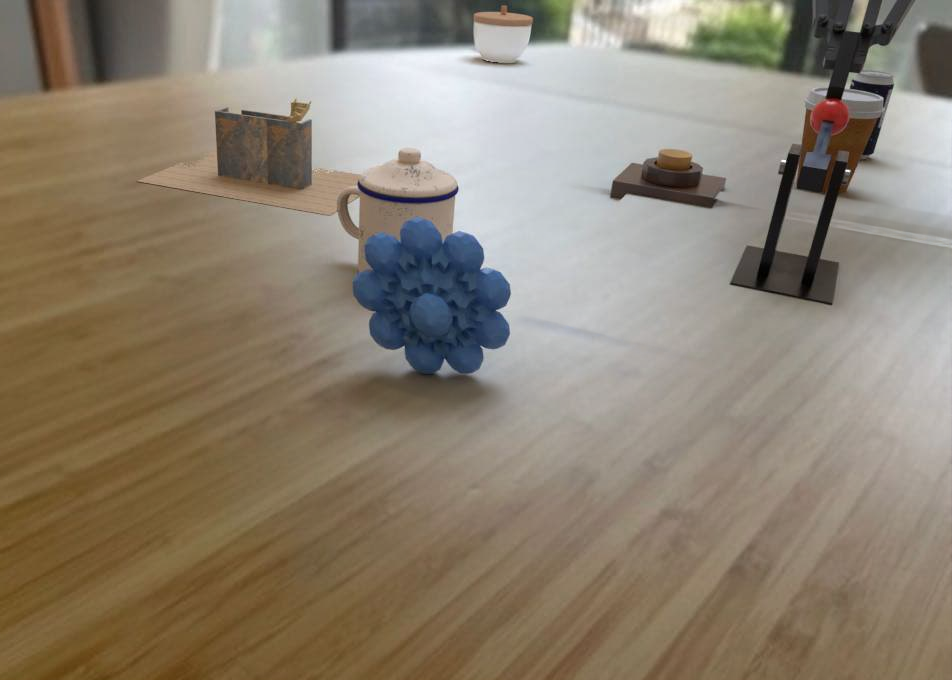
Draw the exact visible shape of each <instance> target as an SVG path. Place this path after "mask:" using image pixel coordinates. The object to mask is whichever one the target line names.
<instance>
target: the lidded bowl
mask: <svg viewBox="0 0 952 680" xmlns="http://www.w3.org/2000/svg"><path fill="white" fill-rule="evenodd" d="M533 21H534V18H533V16H530V15H528V14H527V15H526V14H521V13H516V12H515V13H513V12H508V5H501V7H500V11H480V12H475V13H474V14H473V30H472V32H473V34H472V35H473V42H474V46H475V48H476V51H477V52H478V53H479V55H480V56H481V58H482V60H483V59H485V60H488V61H493V62H498V63H497V64H514V63H516V62H517V60H518V59H519V58H521V56H523V54H524V53H525V52H526V49H527V48H528V45H529V42H530V39H531V33H532V25H533V23H534V22H533Z"/></svg>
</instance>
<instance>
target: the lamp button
mask: <svg viewBox="0 0 952 680" xmlns="http://www.w3.org/2000/svg"><path fill="white" fill-rule="evenodd" d="M657 157H658V158H657V164H656V165H657V166H660V167H663V168H667V169H673V170H688V169H690V165H691V162H692V160H693V154H692V153H691V152H688V151H686V150H682V149H676V148H663V149H659V150H658V154H657Z"/></svg>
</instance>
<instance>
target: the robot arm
mask: <svg viewBox="0 0 952 680" xmlns="http://www.w3.org/2000/svg"><path fill="white" fill-rule="evenodd" d="M915 2H916V0H896V1H895V2H894V4H893V6H892V7H891V9H890V10H889V12H888V13H887V16H886V17H885V19H884V20H883V22H882V24H877V21H878V18H879V14H880V12H881V11H880V10H881V7H882V3H883V0H868V1H867V6H866V9H865V12H864V17H863V20H862V23H861V27H860V30H859V32H858V31H852V30H847V27H848V23H849V20H850V17H851V13H852V10H853V6H854V3H855V0H840V1H839V4H838V8H837V11H836V15H835V18H834V19H831V18H830V0H812V36H813V37H814V38H816V39H822V38H823V39H825V40H826V41H827V42H828V43H827V46H826V49H825V53H824V57H823V61H822V69H823V70H831V71H832V73H831V77H830V80H829V83H828V86H827V87H828V91H827V94H826V98H825V99H830V98H835V99H839V100H842V96H843V93H844V89H846V85H847V82H848V78H849V74H850V73H851V74H857V73H860V72H861V71H862V70H864V67H865V64H866V60H867V57H868V53H869V49H870V48H871V47H872V46H875V45H879V46H881V47H886V46H888V45H889V44H890V43H891V42H892V40H893V39H894V37H895V35H896V34H897V32H898V30H899V29H900V27H901V25H902V24H903V22H904V20H905V19H906V17H907V15H908V14H909V12H910V10H911V8H912V7H913V5H914V4H915Z"/></svg>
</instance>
